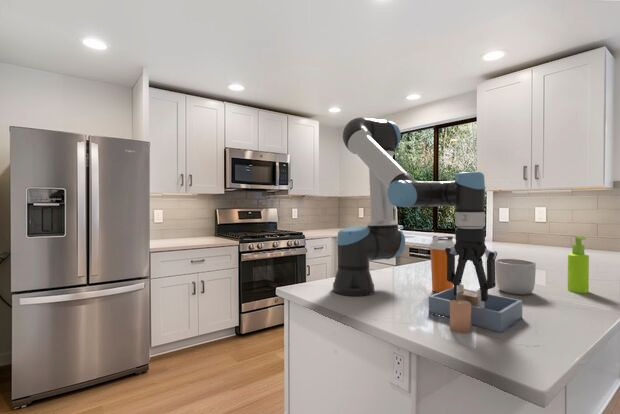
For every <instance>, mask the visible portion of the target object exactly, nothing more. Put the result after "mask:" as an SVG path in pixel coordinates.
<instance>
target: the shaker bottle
mask: <svg viewBox="0 0 620 414" xmlns="http://www.w3.org/2000/svg"><path fill="white" fill-rule="evenodd" d="M454 238H455V237H454V236H450V235H448V236H445V235H444V236H437V235H433V237H432V240H431V241H430V243H429V250H430V268H431V269H430V271H431V287H432V288H431V290H432V291H433V290H434V291H433V292H435V291H437V292H436V293H438V292H442V291H444V290H447V289H450V288H452V287H454V284H453V283H452V282H449V281H447V254H446V251H445V249H446V248H448V247H454V245H455V243H456V242H455V241H453V239H454Z"/></svg>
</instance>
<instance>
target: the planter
mask: <svg viewBox="0 0 620 414" xmlns="http://www.w3.org/2000/svg"><path fill="white" fill-rule="evenodd" d="M536 266H537V264H536V262H534V261H532V260H526V259H518V258H498V259H497V258H496V259H495V282H496V285H497V288H498V289H499V290H501V291H502V292H504V293H507V294H513V295H529V294H531V293H533V291H534V290H535V284H536V274H537V273H536V270H537V267H536Z"/></svg>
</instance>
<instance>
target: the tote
mask: <svg viewBox="0 0 620 414" xmlns="http://www.w3.org/2000/svg"><path fill="white" fill-rule="evenodd" d="M464 291H471V292H476V293H477V290H471V289H466V288H464ZM451 300H457V296H455V295H454V286H453V287H452V288H450V289H447V290H444V291H442V292H439V293H438V292H436V293H434V294H431V295H429V296H428V314H430V313H433V314H432V315H434V314H437V315H440V316H439V317H441V316H444V317H443V318H445V317H446V318H445V319H448V318H449V320H450V301H451ZM437 315H436V316H437ZM521 319H523V300H522V299H516V298H512V297H507V296H501V295H497V294H492V293H488V300H487V301H485V302H484V308H481V307H477V306H472V305H471V324H472V325H471V326H474V325H475V326H474V327H477V326H478V327H477V328H481V327H482V328H481V329H484V330H488V329H489V331H492V330H493V332H496V333H499V332H500V334H501V332H502V333H503V332H504V330H505V331H506V330H507V329H509V328H510V327H513V325H514V323H517V322H519V321H520V320H521ZM508 327H509V328H508Z"/></svg>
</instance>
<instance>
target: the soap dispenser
mask: <svg viewBox="0 0 620 414" xmlns="http://www.w3.org/2000/svg"><path fill="white" fill-rule="evenodd" d="M573 238H574V239H575V242H574V244H572V247H571V248H572V249H571V250H572V253H568V254H567V291H568V292H572V293H577V294H588V293H589V288H590V287H589V285H590V284H589V281H590V280H589V277H590V275H589V274H590V267H589V266H590V263H589V262H590V255H588V254H585V245H584V244H582V240H586V237H585V236H583V235H574V236H573Z"/></svg>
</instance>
